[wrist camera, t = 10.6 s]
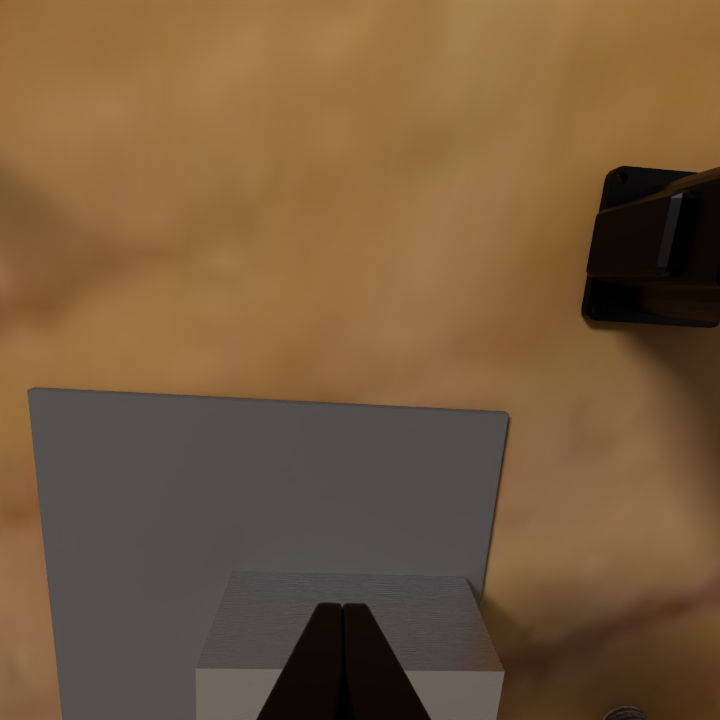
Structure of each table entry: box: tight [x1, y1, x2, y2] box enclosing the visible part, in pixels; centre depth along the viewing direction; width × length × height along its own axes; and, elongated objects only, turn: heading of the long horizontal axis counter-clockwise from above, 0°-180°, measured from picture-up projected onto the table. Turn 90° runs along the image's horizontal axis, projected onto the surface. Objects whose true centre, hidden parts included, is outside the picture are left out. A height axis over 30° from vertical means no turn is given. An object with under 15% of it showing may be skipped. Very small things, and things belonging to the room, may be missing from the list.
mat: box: [27, 387, 509, 720], centre depth 20 cm, size 22×22×1 cm
